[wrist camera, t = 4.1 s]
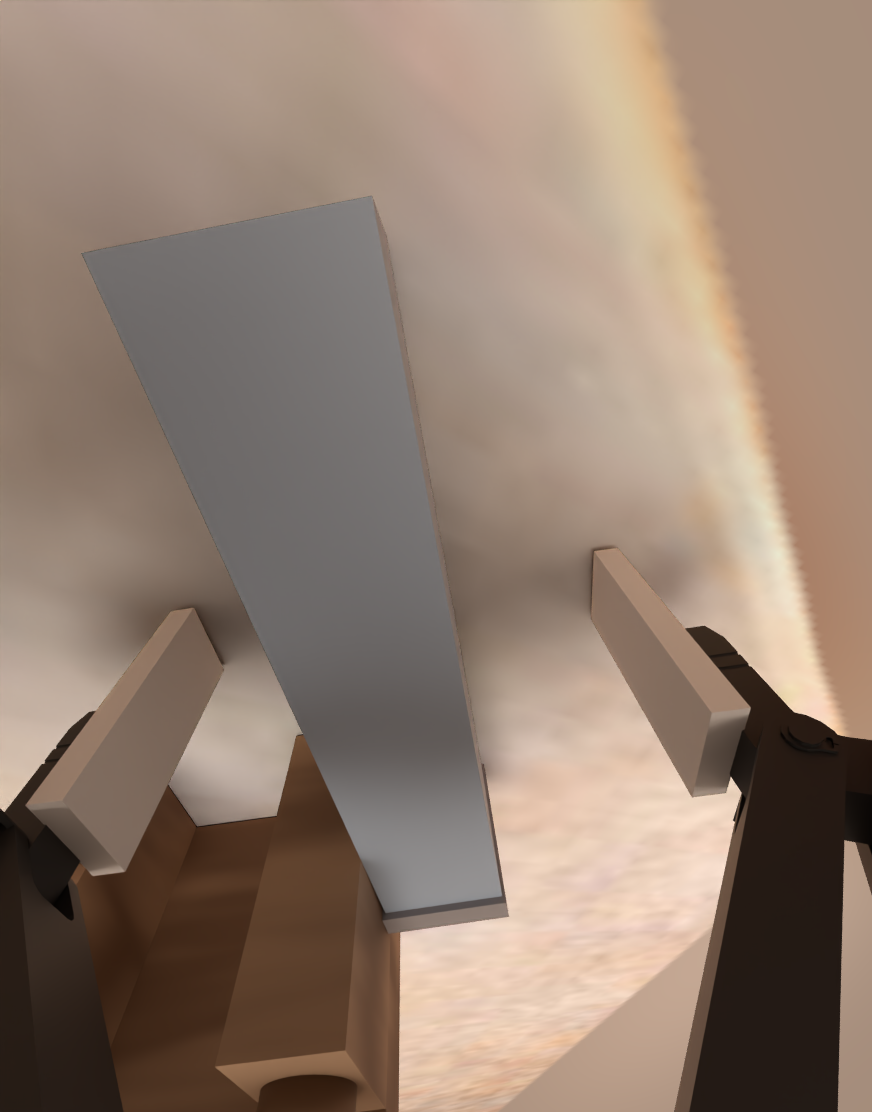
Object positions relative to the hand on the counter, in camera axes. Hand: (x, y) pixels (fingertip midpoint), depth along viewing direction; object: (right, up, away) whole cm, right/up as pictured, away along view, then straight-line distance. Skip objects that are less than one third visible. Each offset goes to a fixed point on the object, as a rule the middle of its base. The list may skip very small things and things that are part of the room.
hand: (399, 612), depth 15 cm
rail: (0, 0, 0) cm, 0 cm away
